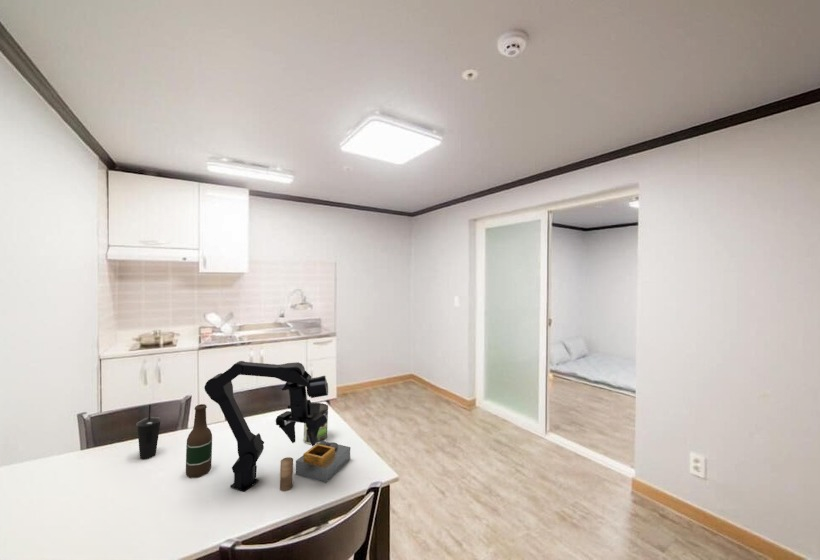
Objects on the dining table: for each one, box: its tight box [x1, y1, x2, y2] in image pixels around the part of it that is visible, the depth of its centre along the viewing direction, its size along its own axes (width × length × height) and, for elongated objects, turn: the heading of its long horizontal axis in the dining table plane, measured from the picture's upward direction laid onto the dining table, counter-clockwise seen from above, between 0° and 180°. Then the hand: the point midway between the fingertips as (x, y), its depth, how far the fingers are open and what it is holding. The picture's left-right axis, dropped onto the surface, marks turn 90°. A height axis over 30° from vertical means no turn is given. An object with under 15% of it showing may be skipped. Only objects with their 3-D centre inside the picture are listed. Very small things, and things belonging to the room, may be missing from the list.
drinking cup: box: [135, 404, 162, 460], centre depth 126 cm, size 8×8×20 cm
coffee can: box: [303, 402, 329, 445], centre depth 143 cm, size 10×10×14 cm
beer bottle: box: [185, 403, 213, 479], centre depth 116 cm, size 8×8×24 cm
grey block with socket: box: [294, 441, 351, 484], centre depth 121 cm, size 16×13×8 cm
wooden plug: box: [279, 456, 294, 492], centre depth 109 cm, size 4×4×9 cm
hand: (303, 444), depth 113 cm, fingers open, 9 cm apart
